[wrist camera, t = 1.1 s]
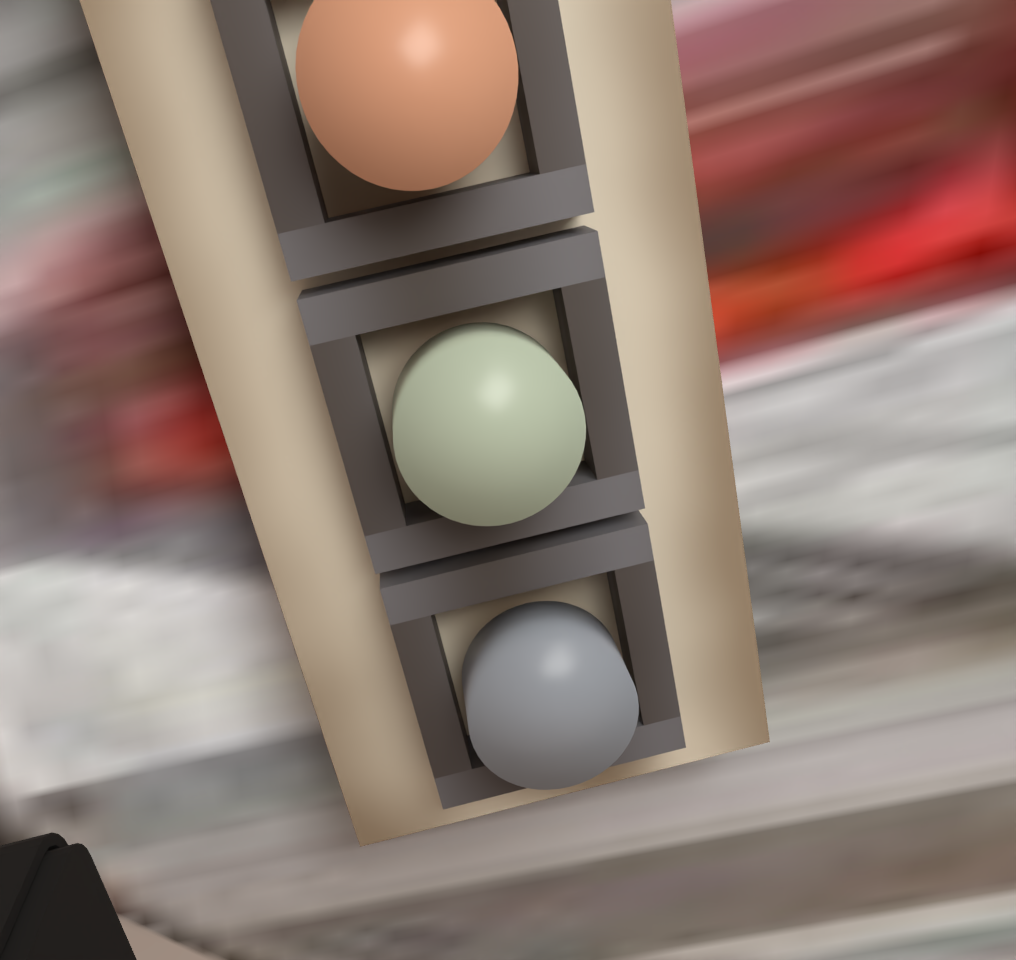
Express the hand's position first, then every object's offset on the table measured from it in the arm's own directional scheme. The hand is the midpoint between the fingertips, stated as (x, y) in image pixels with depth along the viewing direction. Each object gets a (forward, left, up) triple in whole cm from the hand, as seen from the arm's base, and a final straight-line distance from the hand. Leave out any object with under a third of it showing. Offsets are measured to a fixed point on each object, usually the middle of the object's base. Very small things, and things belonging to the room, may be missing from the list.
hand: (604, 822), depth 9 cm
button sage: (0, 0, -14) cm, 13 cm away
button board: (0, 0, -18) cm, 18 cm away
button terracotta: (0, -7, -14) cm, 15 cm away
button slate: (0, +7, -14) cm, 15 cm away
